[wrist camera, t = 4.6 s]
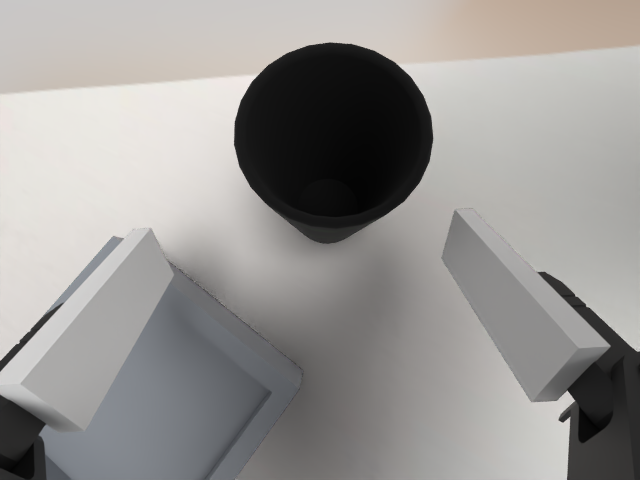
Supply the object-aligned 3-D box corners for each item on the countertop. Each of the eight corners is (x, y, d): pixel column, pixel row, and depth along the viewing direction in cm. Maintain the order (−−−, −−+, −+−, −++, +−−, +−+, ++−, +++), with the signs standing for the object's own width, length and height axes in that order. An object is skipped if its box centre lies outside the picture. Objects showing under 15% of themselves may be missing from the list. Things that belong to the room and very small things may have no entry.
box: (146, 243, 22) (113, 236, 19) (303, 370, 20) (299, 389, 17) (-1, 414, 20) (-67, 442, 17) (160, 568, 19) (123, 634, 15)
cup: (275, 251, 22) (218, 216, 10) (285, 161, 23) (247, 33, 11) (371, 260, 22) (430, 236, 10) (377, 169, 23) (437, 48, 11)
